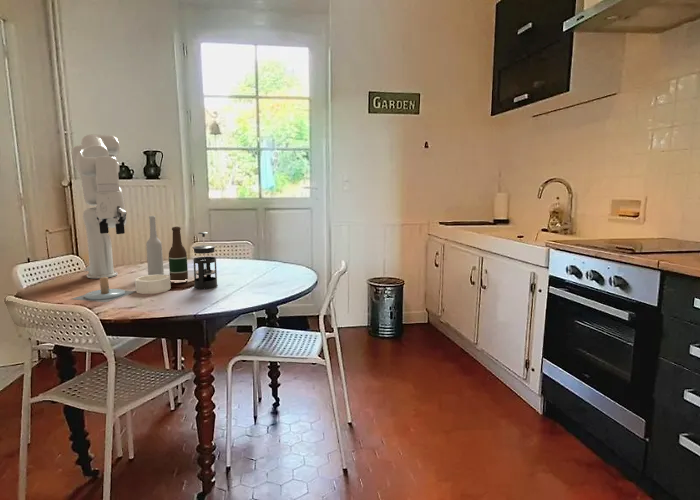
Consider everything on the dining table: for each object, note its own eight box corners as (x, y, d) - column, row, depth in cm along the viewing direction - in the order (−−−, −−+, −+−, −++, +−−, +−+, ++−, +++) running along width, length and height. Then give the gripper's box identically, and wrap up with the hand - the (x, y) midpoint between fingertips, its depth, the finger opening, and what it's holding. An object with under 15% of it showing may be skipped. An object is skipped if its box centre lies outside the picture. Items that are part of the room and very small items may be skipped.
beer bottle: (191, 279, 201) (188, 226, 198) (183, 283, 194) (180, 228, 190) (175, 279, 202) (171, 226, 198) (166, 283, 195) (162, 227, 191)
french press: (198, 283, 194) (196, 230, 190) (220, 283, 194) (218, 230, 190) (189, 290, 182) (186, 233, 178) (213, 290, 182) (210, 233, 179)
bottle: (145, 278, 204) (140, 216, 199) (156, 275, 210) (152, 215, 206) (156, 279, 201) (152, 217, 197) (167, 276, 208) (163, 215, 203)
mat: (70, 300, 167) (70, 298, 167) (104, 290, 182) (104, 288, 182) (106, 303, 163) (106, 302, 162) (137, 293, 178) (137, 291, 178)
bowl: (129, 294, 176) (128, 280, 175) (150, 286, 188) (149, 273, 187) (156, 296, 173) (155, 282, 172) (176, 288, 185) (175, 275, 184)
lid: (75, 298, 167) (74, 280, 166) (104, 289, 180) (103, 273, 179) (106, 301, 164) (104, 282, 163) (133, 292, 177) (131, 275, 176)
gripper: (85, 189, 174) (89, 233, 176) (114, 188, 166) (117, 235, 168) (103, 189, 180) (107, 232, 183) (132, 188, 172) (135, 233, 174)
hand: (112, 233), depth 175 cm, fingers open, 9 cm apart
